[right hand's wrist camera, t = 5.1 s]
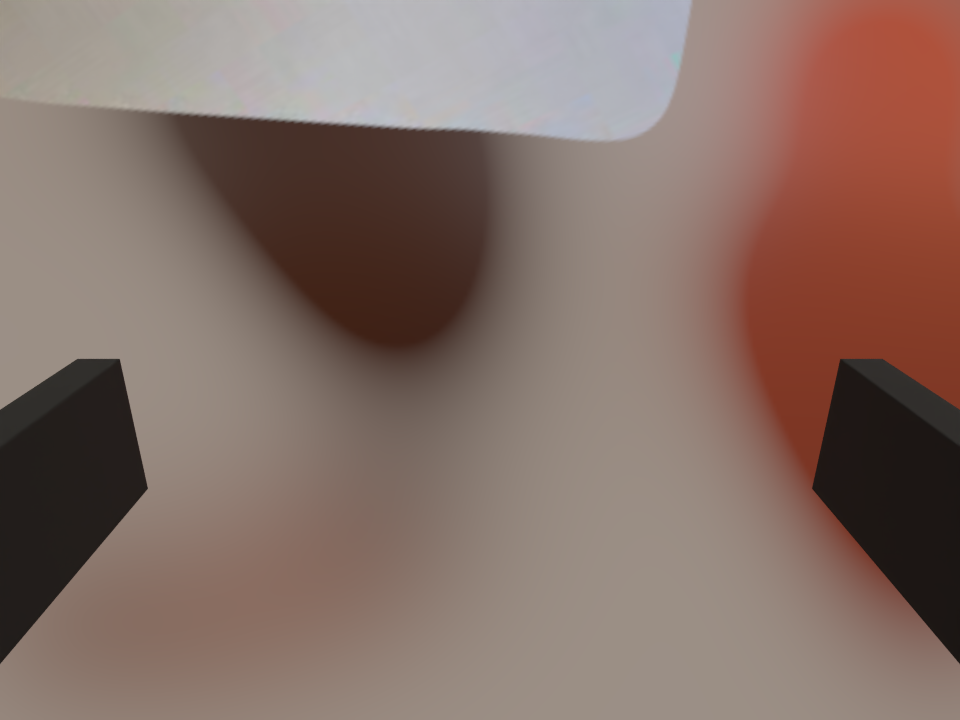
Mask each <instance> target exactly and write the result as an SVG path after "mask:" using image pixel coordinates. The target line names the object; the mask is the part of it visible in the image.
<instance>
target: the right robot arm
mask: <svg viewBox="0 0 960 720" xmlns="http://www.w3.org/2000/svg"><path fill="white" fill-rule="evenodd" d="M147 489H148V487H147V483H146V478H145V473H144V469H143V464H142V460H141V455H140V451H139V446H138V441H137V437H136V432H135V427H134V423H133V418H132V414H131V409H130V404H129V400H128V395H127V391H126V386H125V381H124V377H123V372H122V368H121V363H120V359H77V360H75V361H74V362H72V363H71V364H69V365H68V366H66V367H65V368H63V369H62V370H60V371H59V372H57V373H56V374H54V375H53V376H51V377H49V378H48V379H46V380H45V381H43V382H42V383H40V384H39V385H37V386H36V387H34V388H33V389H31V390H30V391H28V392H27V393H25V394H24V395H22V396H21V397H19V398H17V399H16V400H14V401H13V402H11V403H10V404H8V405H7V406H5V407H4V408H2V409H1V410H0V663H1V662H2V661H3V660H4V659H5V657H6V656H7V655H8V654H9V653H10V652H11V650H12V649H13V648H14V647H15V646H16V644H17V643H18V642H19V641H20V640H21V639H22V637H23V636H24V635H25V634H26V633H27V631H28V630H29V629H30V628H31V627H32V625H33V624H34V623H35V622H36V621H37V620H38V618H39V617H40V616H41V615H42V614H43V612H44V611H45V610H46V609H47V608H48V606H49V605H50V604H51V603H52V602H53V601H54V599H55V598H56V597H57V596H58V595H59V593H60V592H61V591H62V590H63V589H64V587H65V586H66V585H67V584H68V583H69V582H70V580H71V579H72V578H73V577H74V576H75V574H76V573H77V572H78V571H79V570H80V568H81V567H82V566H83V565H84V564H85V563H86V561H87V560H88V559H89V558H90V557H91V555H92V554H93V553H94V552H95V551H96V549H97V548H98V547H99V546H100V545H101V544H102V542H103V541H104V540H105V539H106V538H107V536H108V535H109V534H110V533H111V532H112V531H113V529H114V528H115V527H116V526H117V525H118V523H119V522H120V521H121V520H122V519H123V517H124V516H125V515H126V514H127V513H128V512H129V510H130V509H131V508H132V507H133V506H134V504H135V503H136V502H137V501H138V500H139V498H140V497H141V496H142V495H143V494H144V493H145V491H146V490H147ZM812 489H813V490H814V491H815V493H816V494H817V495H818V496H819V497H820V498H821V500H822V501H823V502H824V503H825V504H826V506H827V507H828V508H829V509H830V510H831V512H832V513H833V514H834V515H835V516H836V517H837V519H838V520H839V521H840V522H841V523H842V525H843V526H844V527H845V528H846V529H847V531H848V532H849V533H850V534H851V535H852V536H853V538H854V539H855V540H856V541H857V542H858V544H859V545H860V546H861V547H862V548H863V550H864V551H865V552H866V553H867V554H868V555H869V557H870V558H871V559H872V560H873V561H874V563H875V564H876V565H877V566H878V567H879V569H880V570H881V571H882V572H883V573H884V574H885V576H886V577H887V578H888V579H889V580H890V582H891V583H892V584H893V585H894V586H895V588H896V589H897V590H898V591H899V592H900V593H901V595H902V596H903V597H904V598H905V599H906V601H907V602H908V603H909V604H910V605H911V606H912V608H913V609H914V610H915V611H916V612H917V614H918V615H919V616H920V617H921V618H922V620H923V621H924V622H925V623H926V624H927V625H928V627H929V628H930V629H931V630H932V631H933V633H934V634H935V635H936V636H937V637H938V638H939V640H940V641H941V642H942V643H943V644H944V646H945V647H946V648H947V649H948V650H949V652H950V653H951V654H952V655H953V656H954V658H955V659H956V660H957V661H958V662H959V663H960V410H959V409H958V408H956V407H955V406H953V405H952V404H950V403H949V402H947V401H946V400H944V399H943V398H941V397H939V396H938V395H936V394H935V393H933V392H932V391H930V390H929V389H927V388H926V387H924V386H923V385H921V384H920V383H918V382H917V381H915V380H914V379H912V378H911V377H909V376H908V375H906V374H904V373H903V372H901V371H900V370H898V369H897V368H895V367H894V366H892V365H891V364H889V363H888V362H886V361H885V360H883V359H840V363H839V368H838V372H837V377H836V381H835V386H834V391H833V395H832V400H831V404H830V409H829V414H828V418H827V423H826V427H825V432H824V437H823V441H822V446H821V451H820V455H819V460H818V464H817V469H816V473H815V478H814V483H813V487H812Z"/></svg>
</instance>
